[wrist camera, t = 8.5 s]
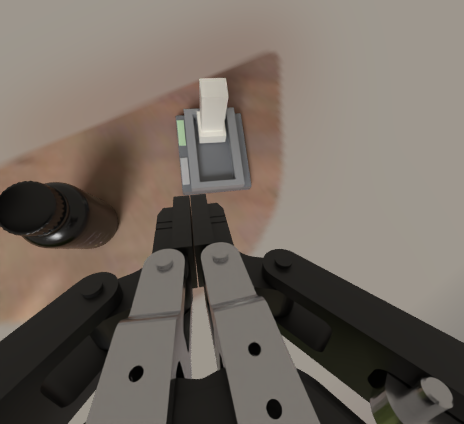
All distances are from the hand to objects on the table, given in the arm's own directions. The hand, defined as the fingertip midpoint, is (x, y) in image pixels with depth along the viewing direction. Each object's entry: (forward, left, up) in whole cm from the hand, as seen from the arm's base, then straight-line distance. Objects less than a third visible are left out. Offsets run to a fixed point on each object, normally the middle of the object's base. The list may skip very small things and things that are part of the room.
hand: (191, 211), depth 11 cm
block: (+4, +16, -20) cm, 26 cm away
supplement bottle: (-14, +4, -22) cm, 26 cm away
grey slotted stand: (+4, +13, -21) cm, 25 cm away
